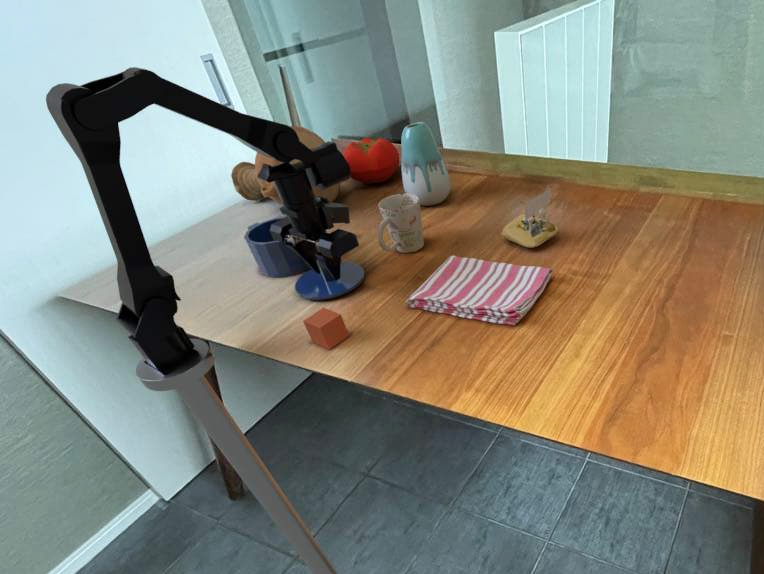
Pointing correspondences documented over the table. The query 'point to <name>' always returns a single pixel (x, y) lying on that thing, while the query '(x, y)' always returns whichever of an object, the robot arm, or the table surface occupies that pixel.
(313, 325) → the block
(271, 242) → the pot
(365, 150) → the tomato
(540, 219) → the tan figurine base
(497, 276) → the dish towel
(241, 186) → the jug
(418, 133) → the vase
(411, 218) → the mug
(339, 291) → the pot lid
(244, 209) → the table surface
